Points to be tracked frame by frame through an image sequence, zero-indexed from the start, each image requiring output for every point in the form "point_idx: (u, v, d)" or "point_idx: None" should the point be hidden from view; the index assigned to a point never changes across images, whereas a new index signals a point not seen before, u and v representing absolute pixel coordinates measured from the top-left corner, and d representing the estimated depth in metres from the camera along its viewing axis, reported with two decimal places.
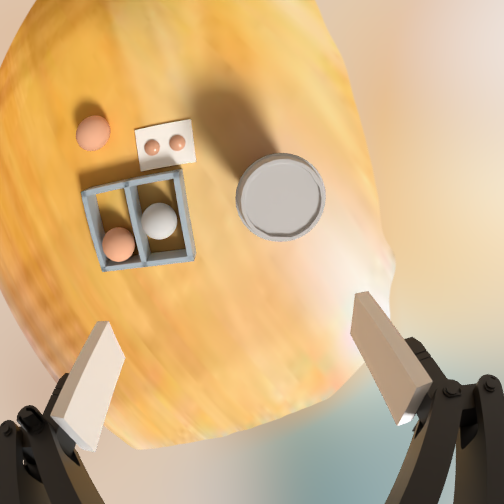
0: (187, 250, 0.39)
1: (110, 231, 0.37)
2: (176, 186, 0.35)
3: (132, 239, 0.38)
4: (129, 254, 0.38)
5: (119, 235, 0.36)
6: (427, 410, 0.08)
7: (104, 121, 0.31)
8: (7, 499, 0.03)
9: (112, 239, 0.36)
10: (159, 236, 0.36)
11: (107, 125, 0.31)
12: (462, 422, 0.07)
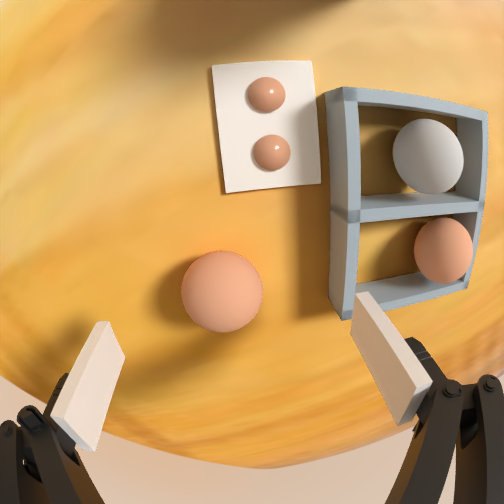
0: (475, 116, 0.13)
1: (426, 263, 0.17)
2: (373, 98, 0.13)
3: (445, 220, 0.17)
4: (467, 231, 0.16)
5: (441, 246, 0.16)
6: (427, 410, 0.08)
7: (197, 265, 0.16)
8: (7, 499, 0.03)
9: (446, 261, 0.16)
10: (463, 159, 0.13)
11: (207, 257, 0.16)
12: (462, 422, 0.07)
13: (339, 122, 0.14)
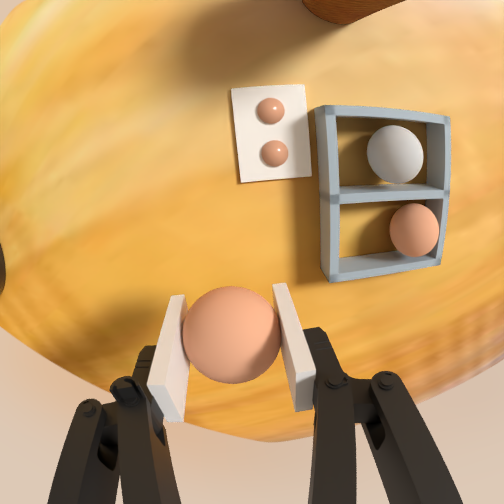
0: (437, 121, 0.19)
1: (397, 239, 0.23)
2: (348, 112, 0.19)
3: (413, 204, 0.22)
4: (433, 214, 0.22)
5: (408, 224, 0.22)
6: (317, 404, 0.09)
7: (201, 307, 0.13)
8: (64, 484, 0.05)
9: (413, 236, 0.21)
10: (422, 155, 0.19)
11: (214, 297, 0.13)
12: (359, 418, 0.09)
13: (323, 130, 0.20)
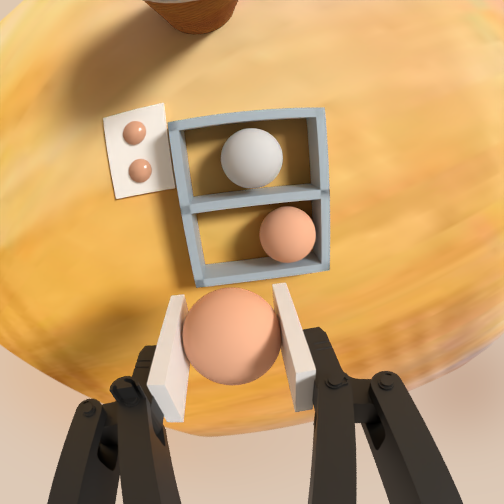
0: (305, 115, 0.21)
1: (262, 245, 0.25)
2: (191, 125, 0.20)
3: (281, 208, 0.24)
4: (304, 217, 0.24)
5: (269, 229, 0.23)
6: (317, 404, 0.09)
7: (201, 308, 0.13)
8: (64, 484, 0.05)
9: (274, 242, 0.23)
10: (275, 155, 0.21)
11: (214, 299, 0.13)
12: (359, 417, 0.09)
13: None
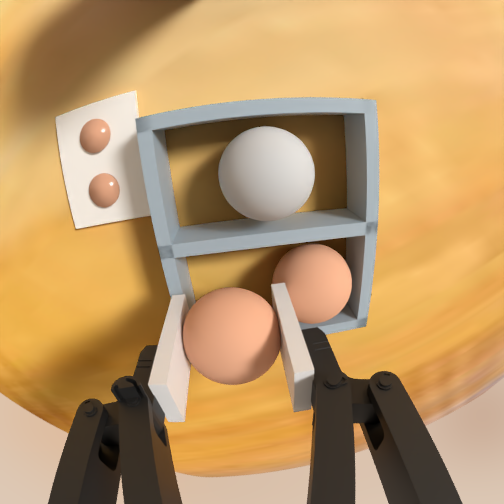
0: (348, 109, 0.13)
1: None
2: (171, 121, 0.13)
3: (305, 248, 0.17)
4: (338, 263, 0.16)
5: (286, 281, 0.16)
6: (316, 404, 0.09)
7: (201, 308, 0.13)
8: (65, 484, 0.05)
9: (292, 300, 0.16)
10: (305, 172, 0.13)
11: (215, 298, 0.13)
12: (357, 418, 0.09)
13: None
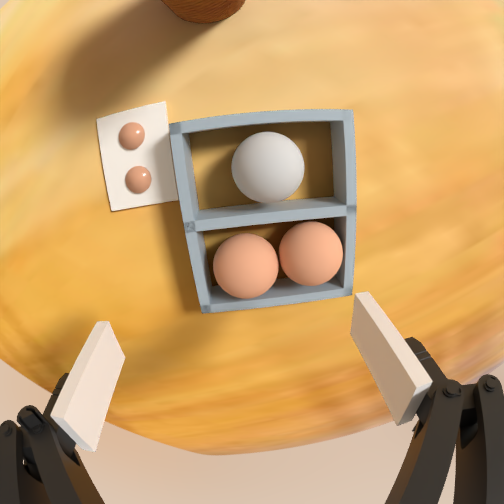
0: (330, 117, 0.17)
1: (295, 270, 0.20)
2: (197, 127, 0.17)
3: (307, 223, 0.21)
4: (332, 230, 0.21)
5: (308, 249, 0.19)
6: (427, 410, 0.08)
7: (229, 244, 0.20)
8: (7, 499, 0.03)
9: (316, 263, 0.19)
10: (296, 165, 0.17)
11: (236, 237, 0.21)
12: (462, 422, 0.07)
13: None
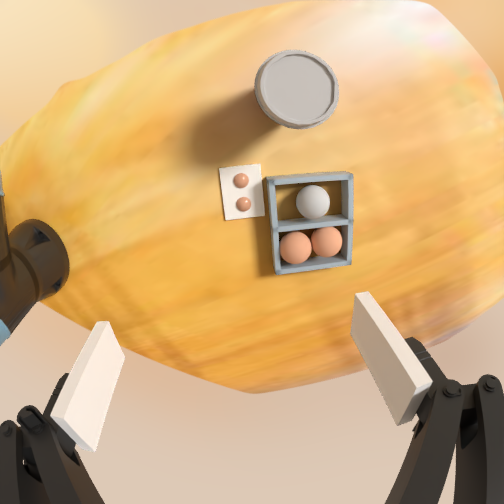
0: (342, 178, 0.39)
1: (316, 246, 0.42)
2: (282, 182, 0.39)
3: None
4: (337, 230, 0.43)
5: (322, 236, 0.41)
6: (427, 410, 0.08)
7: (287, 235, 0.43)
8: (7, 499, 0.03)
9: (325, 242, 0.41)
10: (327, 202, 0.39)
11: (291, 232, 0.43)
12: (462, 422, 0.07)
13: (269, 192, 0.40)
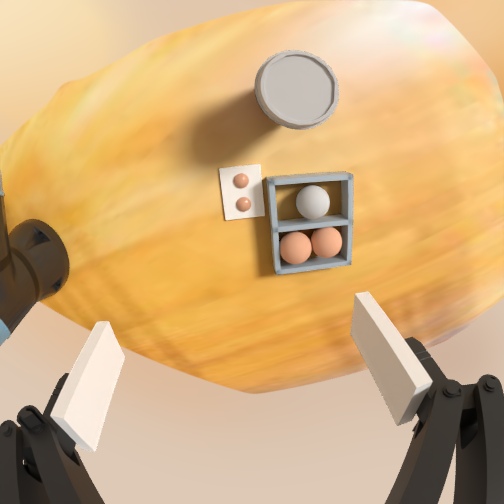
0: (342, 179, 0.39)
1: (315, 247, 0.42)
2: (282, 182, 0.39)
3: None
4: (337, 231, 0.43)
5: (322, 237, 0.41)
6: (427, 410, 0.08)
7: (287, 235, 0.43)
8: (7, 499, 0.03)
9: (325, 244, 0.41)
10: (327, 203, 0.39)
11: (291, 232, 0.43)
12: (462, 422, 0.07)
13: (269, 193, 0.40)
